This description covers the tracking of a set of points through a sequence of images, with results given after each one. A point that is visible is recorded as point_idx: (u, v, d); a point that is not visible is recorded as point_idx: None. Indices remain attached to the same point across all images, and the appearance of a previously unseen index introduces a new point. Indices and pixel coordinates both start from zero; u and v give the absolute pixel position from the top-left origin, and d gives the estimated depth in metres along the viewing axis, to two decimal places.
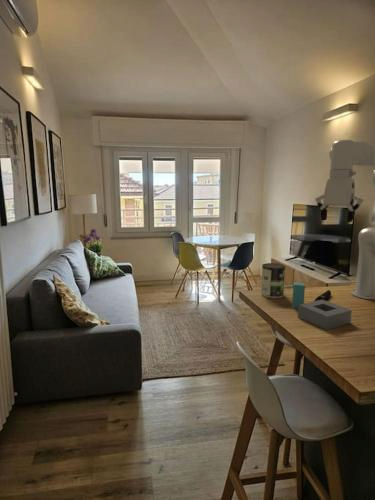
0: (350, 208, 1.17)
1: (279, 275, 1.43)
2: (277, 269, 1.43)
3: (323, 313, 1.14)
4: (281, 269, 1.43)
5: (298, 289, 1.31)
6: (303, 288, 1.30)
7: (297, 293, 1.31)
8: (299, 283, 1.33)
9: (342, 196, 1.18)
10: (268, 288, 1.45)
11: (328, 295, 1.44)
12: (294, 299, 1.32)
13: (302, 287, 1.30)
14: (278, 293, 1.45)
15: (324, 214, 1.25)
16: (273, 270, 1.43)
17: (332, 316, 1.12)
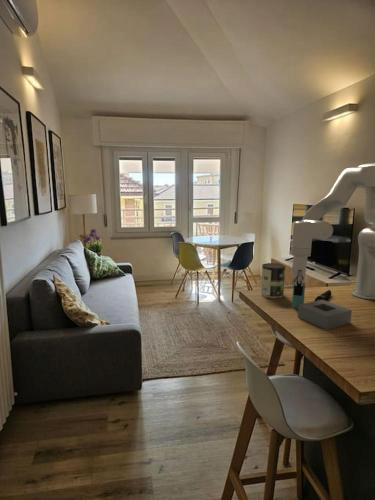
0: None
1: (279, 275, 1.43)
2: (277, 269, 1.43)
3: (323, 313, 1.14)
4: (281, 269, 1.43)
5: None
6: (303, 288, 1.30)
7: None
8: None
9: None
10: (268, 288, 1.45)
11: (328, 295, 1.44)
12: (294, 299, 1.32)
13: None
14: (278, 293, 1.45)
15: None
16: (273, 270, 1.43)
17: (332, 316, 1.12)
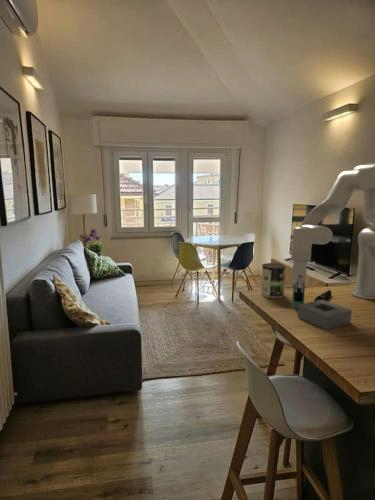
0: None
1: (279, 275, 1.43)
2: (277, 269, 1.43)
3: (323, 313, 1.14)
4: (281, 269, 1.43)
5: None
6: (303, 288, 1.30)
7: None
8: None
9: None
10: (268, 288, 1.45)
11: (328, 295, 1.44)
12: None
13: None
14: (278, 293, 1.45)
15: None
16: (273, 270, 1.43)
17: (332, 316, 1.12)
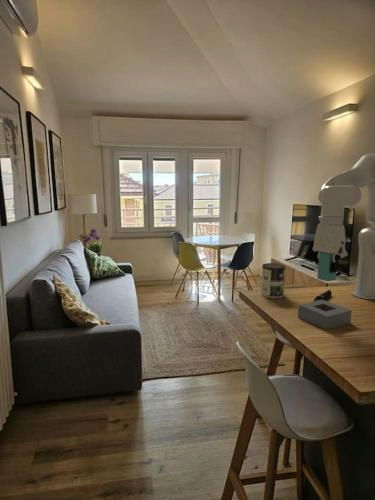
0: None
1: (279, 275, 1.43)
2: (277, 269, 1.43)
3: (323, 313, 1.14)
4: (281, 269, 1.43)
5: None
6: None
7: None
8: None
9: None
10: (268, 288, 1.45)
11: (328, 295, 1.45)
12: (329, 271, 1.15)
13: None
14: (278, 293, 1.45)
15: None
16: (273, 270, 1.43)
17: (332, 316, 1.12)
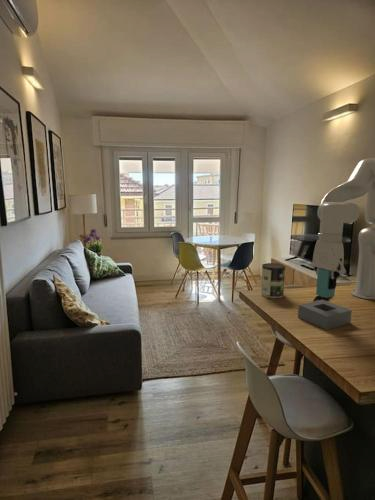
0: None
1: (279, 275, 1.43)
2: (277, 269, 1.43)
3: (323, 313, 1.14)
4: (281, 269, 1.43)
5: None
6: None
7: None
8: None
9: None
10: (268, 288, 1.45)
11: None
12: None
13: None
14: (278, 293, 1.45)
15: None
16: (273, 270, 1.43)
17: (332, 316, 1.12)
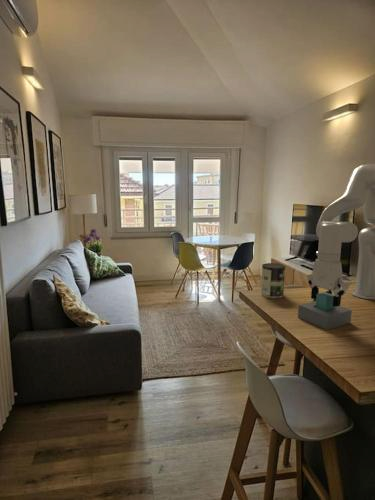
0: None
1: (279, 275, 1.43)
2: (277, 269, 1.43)
3: (323, 313, 1.14)
4: (281, 269, 1.43)
5: (329, 301, 1.17)
6: None
7: (328, 305, 1.17)
8: (324, 294, 1.19)
9: None
10: (268, 288, 1.45)
11: None
12: None
13: (332, 298, 1.18)
14: (278, 293, 1.45)
15: None
16: (273, 270, 1.43)
17: (332, 316, 1.12)
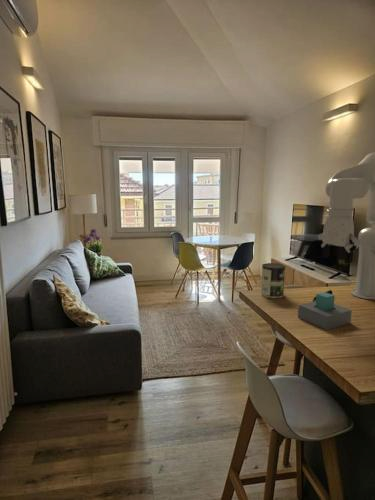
0: None
1: (279, 275, 1.43)
2: (277, 269, 1.43)
3: (323, 313, 1.14)
4: (281, 269, 1.43)
5: (329, 301, 1.17)
6: (333, 299, 1.18)
7: (328, 305, 1.17)
8: (324, 294, 1.19)
9: None
10: (268, 288, 1.45)
11: None
12: None
13: (332, 298, 1.18)
14: (278, 293, 1.45)
15: None
16: (273, 270, 1.43)
17: (332, 316, 1.12)
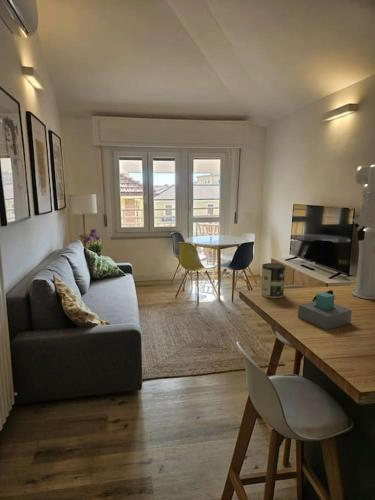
0: None
1: (279, 275, 1.43)
2: (277, 269, 1.43)
3: (323, 313, 1.14)
4: (281, 269, 1.43)
5: (329, 301, 1.17)
6: (333, 299, 1.18)
7: (328, 305, 1.17)
8: (324, 294, 1.19)
9: None
10: (268, 288, 1.45)
11: None
12: None
13: (332, 298, 1.18)
14: (278, 293, 1.45)
15: None
16: (273, 270, 1.43)
17: (332, 316, 1.12)
